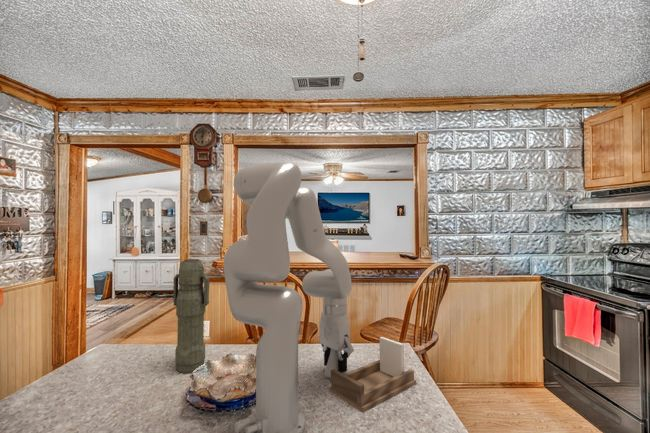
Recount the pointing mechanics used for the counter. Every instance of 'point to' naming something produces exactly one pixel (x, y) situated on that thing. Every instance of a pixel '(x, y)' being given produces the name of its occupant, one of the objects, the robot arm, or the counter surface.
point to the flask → (332, 363)
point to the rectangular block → (391, 357)
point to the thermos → (190, 315)
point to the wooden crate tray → (369, 385)
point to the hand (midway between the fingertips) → (335, 367)
